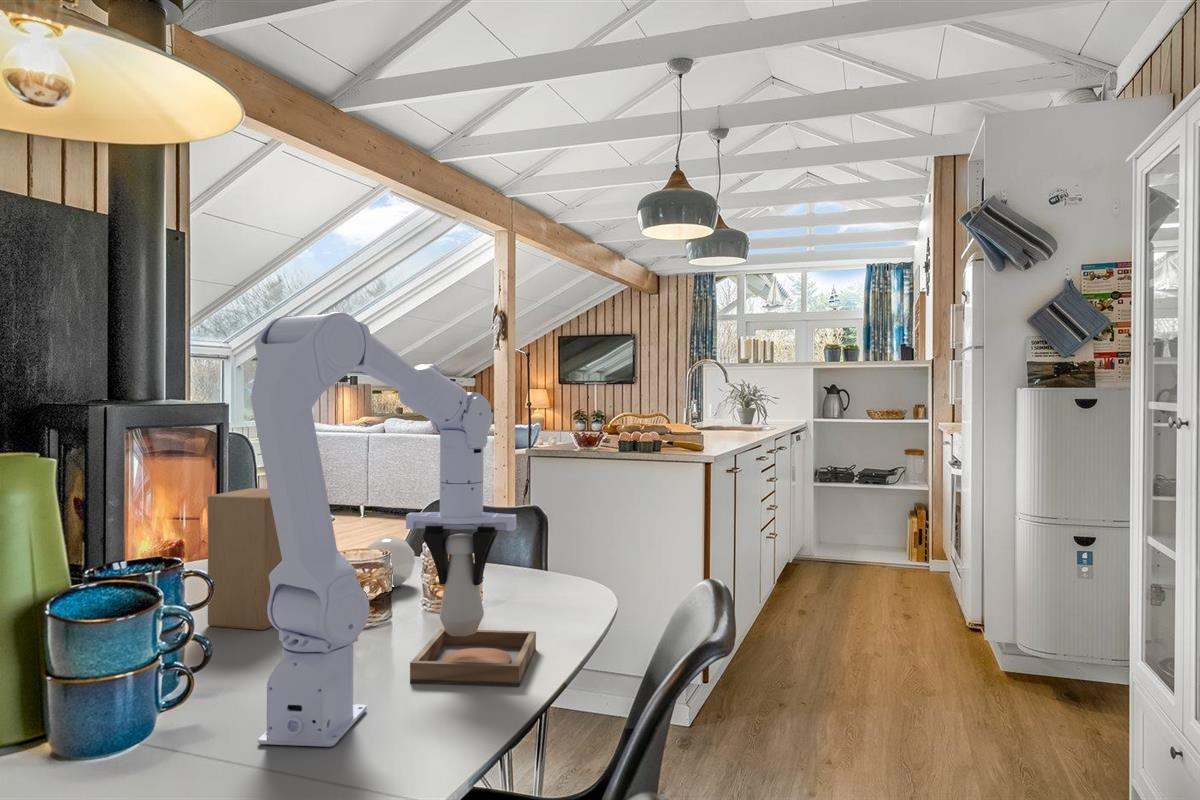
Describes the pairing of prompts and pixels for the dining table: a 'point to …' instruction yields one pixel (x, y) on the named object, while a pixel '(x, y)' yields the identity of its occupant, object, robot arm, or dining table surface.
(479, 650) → the coaster
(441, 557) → the robot arm
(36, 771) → the dining table surface
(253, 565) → the wooden block
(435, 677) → the square wooden serving tray
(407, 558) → the white rounded ovoid
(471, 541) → the salt shaker
